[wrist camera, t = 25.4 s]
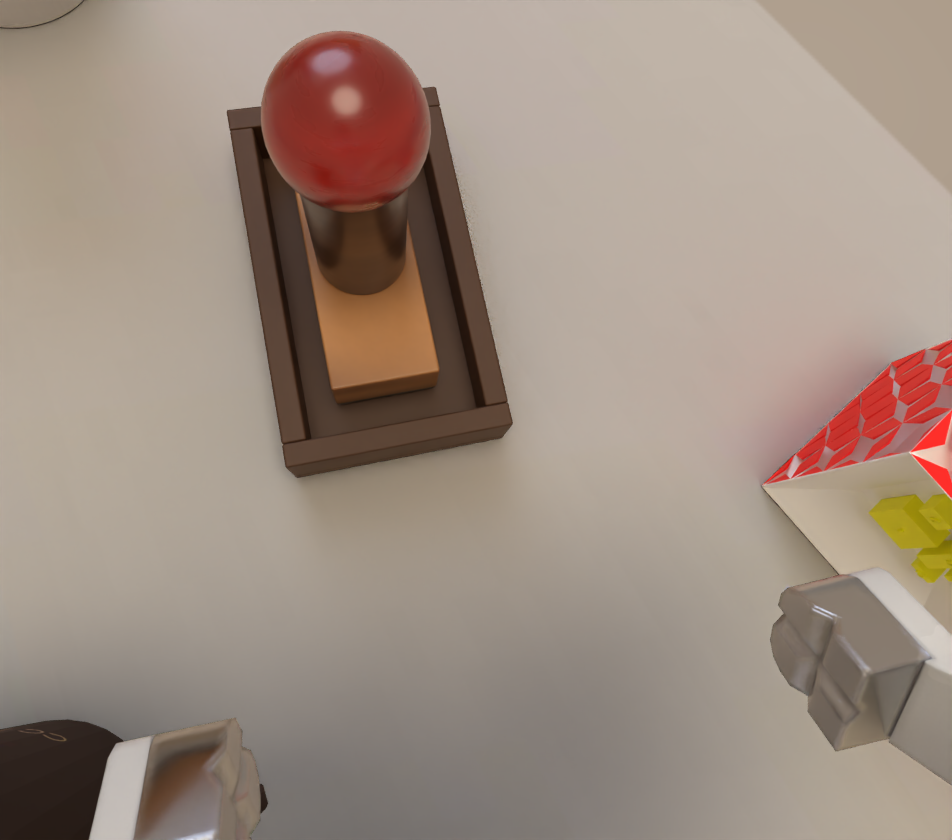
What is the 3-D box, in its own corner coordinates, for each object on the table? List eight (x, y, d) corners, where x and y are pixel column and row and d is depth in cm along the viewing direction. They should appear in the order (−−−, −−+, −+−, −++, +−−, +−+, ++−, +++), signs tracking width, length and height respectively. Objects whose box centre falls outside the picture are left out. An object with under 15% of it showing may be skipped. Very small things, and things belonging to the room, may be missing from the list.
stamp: (441, 389, 26) (477, 247, 14) (331, 409, 25) (280, 277, 14) (394, 170, 27) (394, -113, 16) (290, 183, 27) (214, -100, 15)
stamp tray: (502, 437, 26) (513, 424, 24) (296, 478, 25) (285, 468, 22) (432, 127, 28) (435, 85, 26) (241, 150, 27) (226, 109, 25)
